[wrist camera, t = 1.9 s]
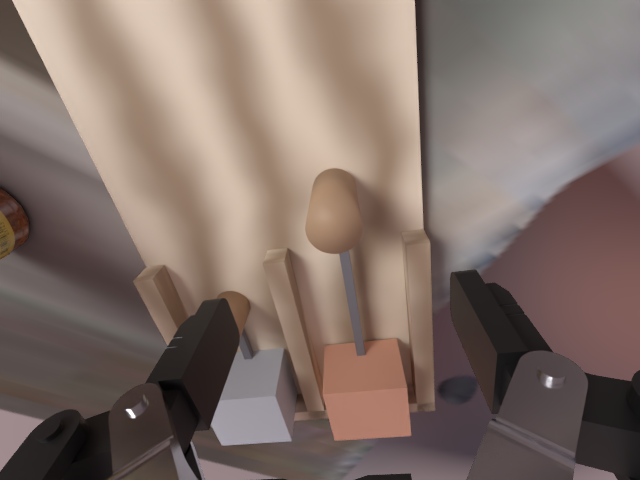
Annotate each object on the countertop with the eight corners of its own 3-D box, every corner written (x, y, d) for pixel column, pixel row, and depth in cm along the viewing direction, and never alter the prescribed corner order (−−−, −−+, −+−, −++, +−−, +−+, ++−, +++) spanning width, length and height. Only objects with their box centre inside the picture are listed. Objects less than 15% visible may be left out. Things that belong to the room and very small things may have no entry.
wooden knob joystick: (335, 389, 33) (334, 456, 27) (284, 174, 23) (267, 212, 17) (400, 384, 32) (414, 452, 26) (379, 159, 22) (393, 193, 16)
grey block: (236, 395, 34) (221, 445, 30) (191, 295, 28) (165, 339, 24) (297, 390, 33) (291, 440, 29) (264, 286, 27) (250, 329, 23)
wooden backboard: (219, 399, 36) (210, 426, 34) (-18, -88, 18) (-79, -114, 15) (427, 383, 33) (434, 410, 31) (401, -212, 15) (416, -270, 12)
